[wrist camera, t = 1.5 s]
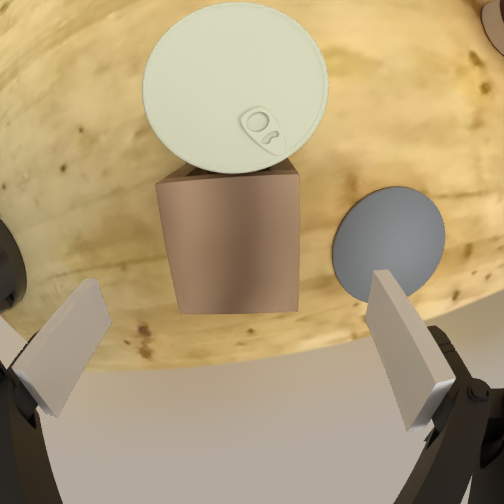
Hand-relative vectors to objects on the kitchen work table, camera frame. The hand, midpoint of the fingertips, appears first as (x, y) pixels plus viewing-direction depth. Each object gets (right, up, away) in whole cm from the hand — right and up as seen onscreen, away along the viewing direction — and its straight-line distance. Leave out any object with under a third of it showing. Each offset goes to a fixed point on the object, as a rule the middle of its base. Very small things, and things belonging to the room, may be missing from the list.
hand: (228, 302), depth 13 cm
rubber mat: (+15, +3, +15) cm, 22 cm away
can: (0, +15, +10) cm, 18 cm away
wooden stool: (0, +6, +13) cm, 15 cm away
